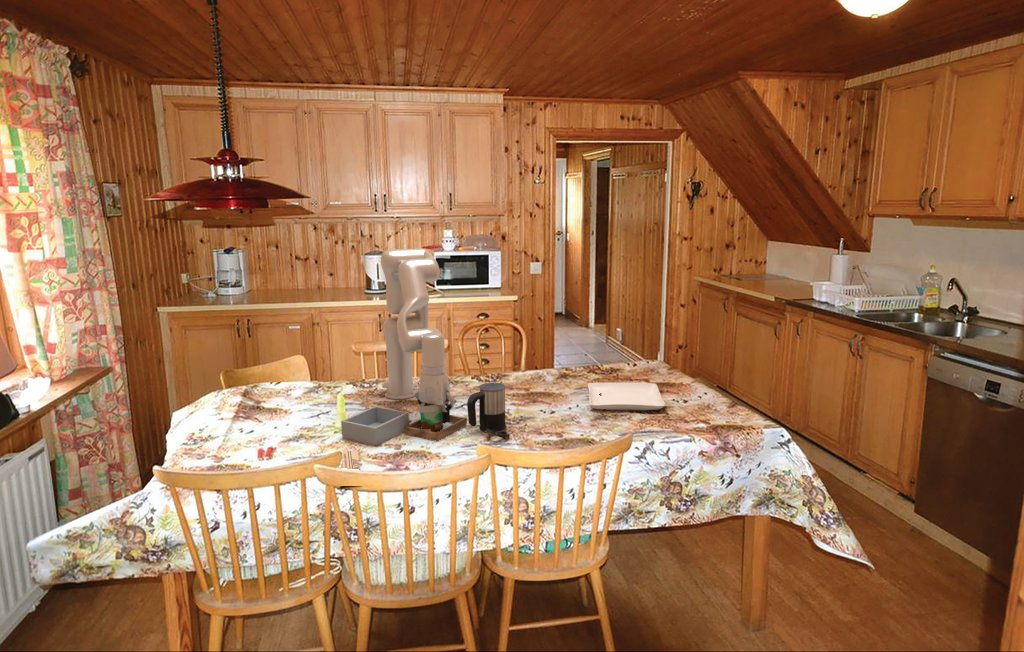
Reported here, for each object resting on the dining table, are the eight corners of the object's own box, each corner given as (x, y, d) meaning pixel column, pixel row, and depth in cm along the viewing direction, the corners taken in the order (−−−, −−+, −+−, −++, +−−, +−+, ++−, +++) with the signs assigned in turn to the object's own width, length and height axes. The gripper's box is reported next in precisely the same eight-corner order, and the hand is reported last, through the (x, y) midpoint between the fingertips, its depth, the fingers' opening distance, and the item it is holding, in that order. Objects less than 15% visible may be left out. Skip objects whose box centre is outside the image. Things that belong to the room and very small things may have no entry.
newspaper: (337, 457, 193) (337, 451, 192) (361, 454, 195) (361, 448, 194) (340, 491, 171) (339, 485, 170) (367, 487, 172) (366, 481, 172)
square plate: (655, 391, 250) (656, 382, 250) (665, 415, 224) (666, 404, 223) (587, 390, 253) (587, 381, 252) (589, 413, 226) (589, 403, 226)
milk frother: (492, 421, 219) (491, 380, 216) (527, 431, 209) (527, 388, 206) (463, 433, 209) (462, 390, 206) (499, 444, 199) (498, 400, 196)
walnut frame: (405, 434, 209) (404, 426, 208) (435, 418, 223) (434, 411, 222) (438, 441, 202) (437, 434, 202) (466, 424, 216) (466, 418, 216)
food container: (436, 437, 206) (435, 408, 204) (420, 435, 208) (418, 406, 206) (452, 424, 217) (451, 396, 215) (436, 422, 219) (435, 394, 217)
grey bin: (342, 438, 206) (341, 421, 205) (376, 422, 220) (375, 405, 219) (376, 446, 199) (375, 428, 198) (409, 429, 213) (408, 412, 212)
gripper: (406, 369, 209) (408, 419, 213) (449, 376, 201) (450, 428, 204) (420, 364, 216) (422, 412, 219) (462, 370, 207) (463, 420, 211)
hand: (436, 419), depth 212 cm, fingers open, 7 cm apart
